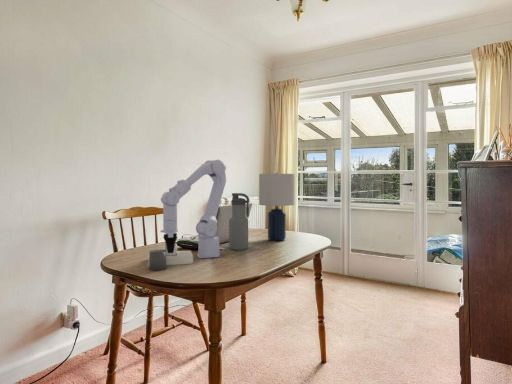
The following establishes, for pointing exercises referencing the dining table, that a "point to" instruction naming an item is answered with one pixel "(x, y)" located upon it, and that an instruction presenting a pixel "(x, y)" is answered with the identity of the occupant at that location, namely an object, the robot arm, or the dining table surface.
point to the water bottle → (239, 223)
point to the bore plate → (179, 258)
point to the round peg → (157, 260)
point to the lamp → (276, 201)
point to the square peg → (170, 253)
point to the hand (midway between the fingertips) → (170, 251)
